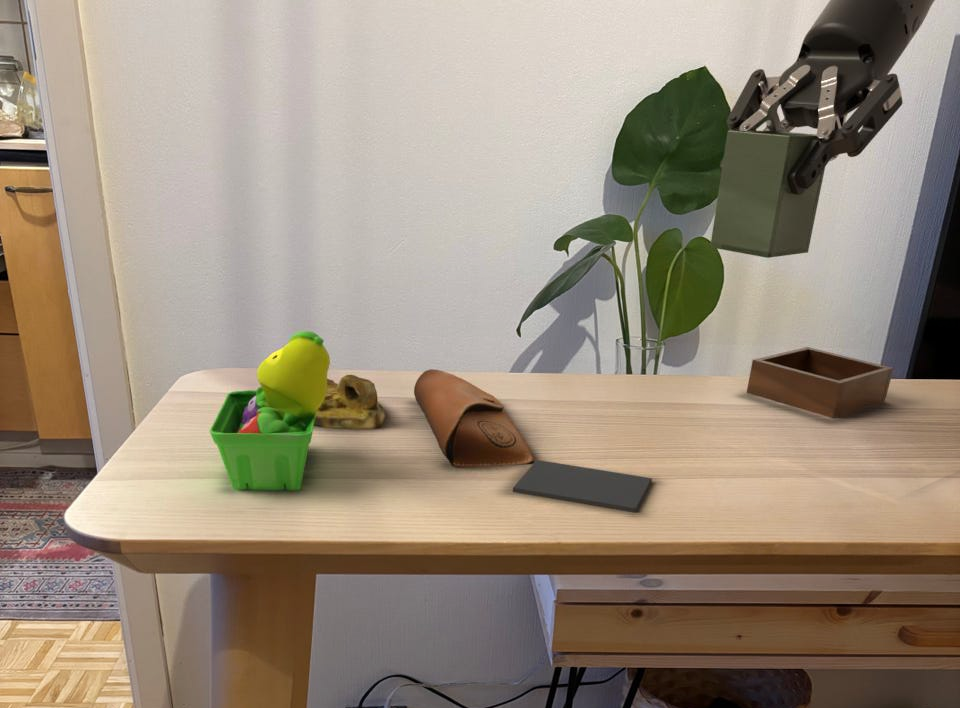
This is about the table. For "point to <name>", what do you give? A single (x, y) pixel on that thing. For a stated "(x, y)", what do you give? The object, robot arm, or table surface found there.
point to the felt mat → (584, 485)
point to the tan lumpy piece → (350, 405)
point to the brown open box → (819, 381)
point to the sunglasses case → (469, 422)
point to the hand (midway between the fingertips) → (759, 182)
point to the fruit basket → (274, 417)
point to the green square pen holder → (763, 196)
